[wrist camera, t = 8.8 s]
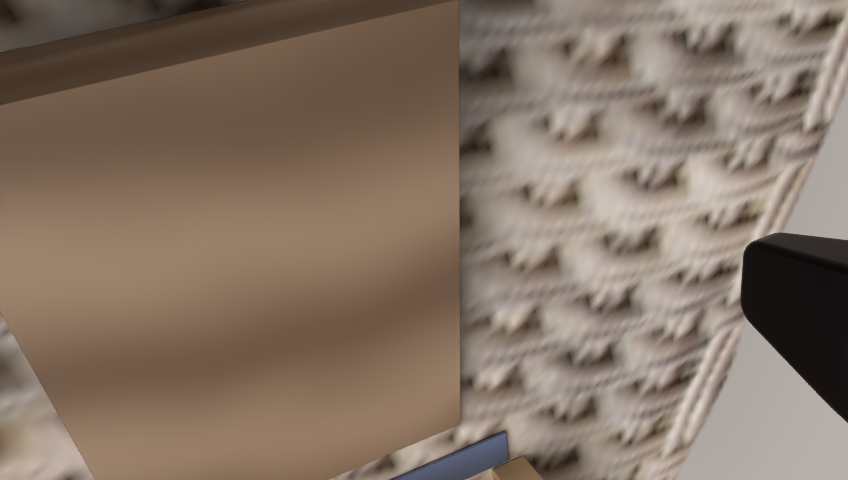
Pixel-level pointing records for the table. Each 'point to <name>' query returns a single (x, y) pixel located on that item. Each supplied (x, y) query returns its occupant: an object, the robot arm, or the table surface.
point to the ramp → (239, 236)
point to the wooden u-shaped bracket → (476, 464)
